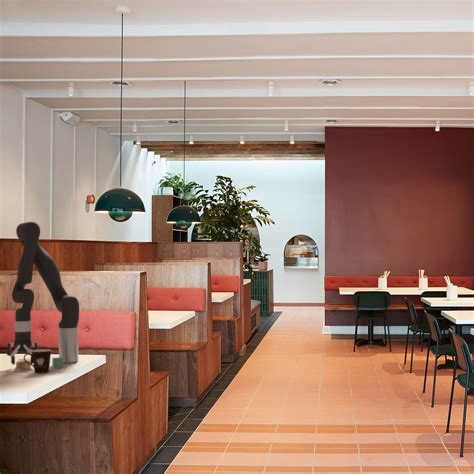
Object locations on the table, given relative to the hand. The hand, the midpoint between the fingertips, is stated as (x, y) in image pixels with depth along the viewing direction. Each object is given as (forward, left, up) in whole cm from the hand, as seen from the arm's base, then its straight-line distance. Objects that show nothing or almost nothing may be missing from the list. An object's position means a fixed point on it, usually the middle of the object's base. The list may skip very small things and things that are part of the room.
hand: (22, 364), depth 329 cm
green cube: (-17, +1, -2) cm, 17 cm away
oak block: (0, 0, -2) cm, 2 cm away
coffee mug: (-10, +12, -2) cm, 16 cm away
